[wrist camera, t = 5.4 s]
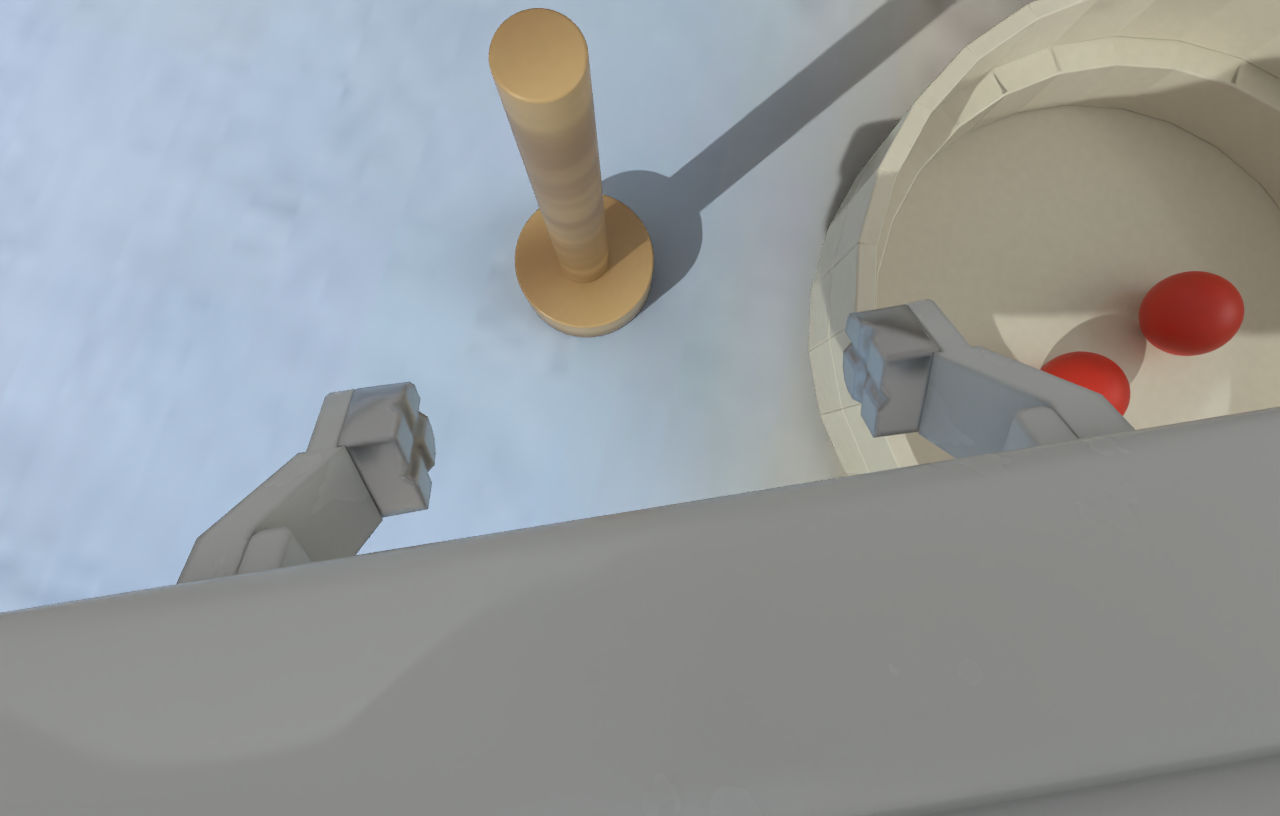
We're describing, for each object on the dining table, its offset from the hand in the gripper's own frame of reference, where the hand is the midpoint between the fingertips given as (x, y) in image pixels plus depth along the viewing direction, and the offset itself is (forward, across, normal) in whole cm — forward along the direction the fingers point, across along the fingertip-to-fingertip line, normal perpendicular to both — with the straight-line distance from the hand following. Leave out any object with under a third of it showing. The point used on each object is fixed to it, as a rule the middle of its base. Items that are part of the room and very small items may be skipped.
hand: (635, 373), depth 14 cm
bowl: (+10, -17, +10) cm, 22 cm away
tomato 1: (+7, -16, +10) cm, 20 cm away
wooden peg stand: (+14, +1, +6) cm, 15 cm away
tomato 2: (+9, -20, +8) cm, 23 cm away
